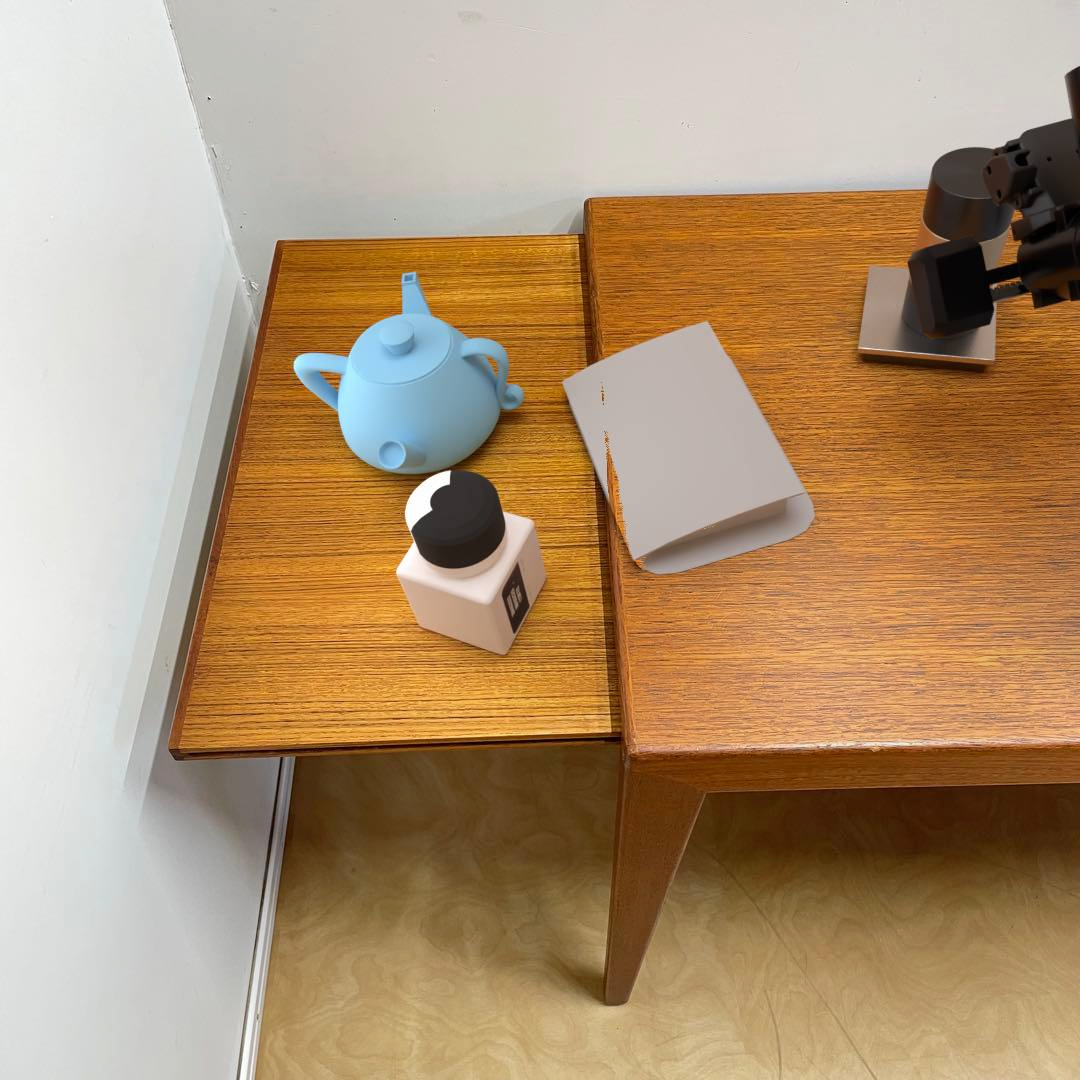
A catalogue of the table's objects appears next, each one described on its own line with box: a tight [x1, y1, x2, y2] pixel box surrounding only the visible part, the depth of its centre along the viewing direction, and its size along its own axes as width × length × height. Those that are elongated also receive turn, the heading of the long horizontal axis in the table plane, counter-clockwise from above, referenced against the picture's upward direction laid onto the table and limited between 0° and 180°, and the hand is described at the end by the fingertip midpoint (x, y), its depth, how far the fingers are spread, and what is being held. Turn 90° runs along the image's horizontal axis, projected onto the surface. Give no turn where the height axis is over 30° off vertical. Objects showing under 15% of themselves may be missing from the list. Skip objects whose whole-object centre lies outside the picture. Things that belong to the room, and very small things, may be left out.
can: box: [902, 146, 1016, 339], centre depth 81 cm, size 7×7×14 cm
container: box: [395, 469, 547, 656], centre depth 72 cm, size 8×8×13 cm
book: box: [561, 320, 816, 576], centre depth 82 cm, size 15×23×4 cm, turn 15°
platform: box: [856, 265, 998, 373], centre depth 88 cm, size 11×11×2 cm
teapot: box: [293, 271, 525, 475], centre depth 85 cm, size 15×17×11 cm
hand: (986, 278), depth 77 cm, fingers open, 9 cm apart
